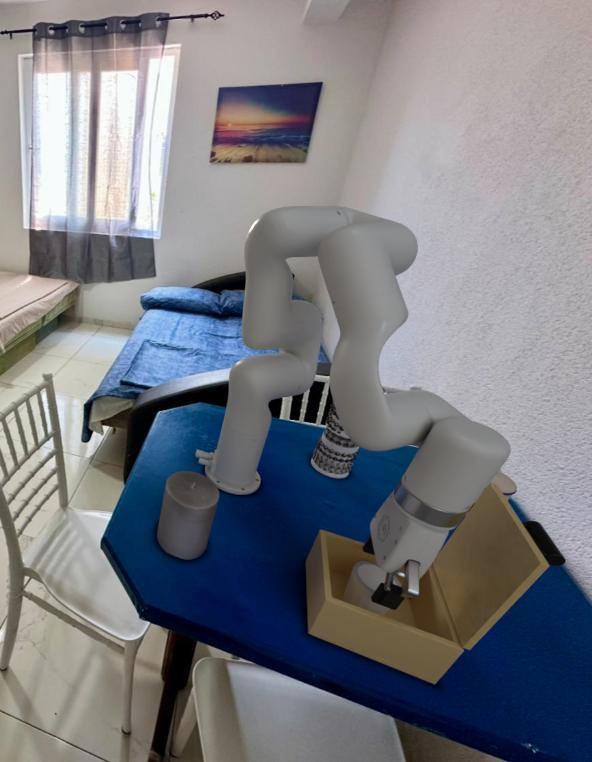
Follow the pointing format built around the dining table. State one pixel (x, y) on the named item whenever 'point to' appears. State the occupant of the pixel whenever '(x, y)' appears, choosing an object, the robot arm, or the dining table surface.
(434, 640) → the hinged wooden box
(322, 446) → the white patterned cylinder
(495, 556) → the lid
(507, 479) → the teacup with lid
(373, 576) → the white short cylinder
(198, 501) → the pillar candle
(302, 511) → the dining table surface
